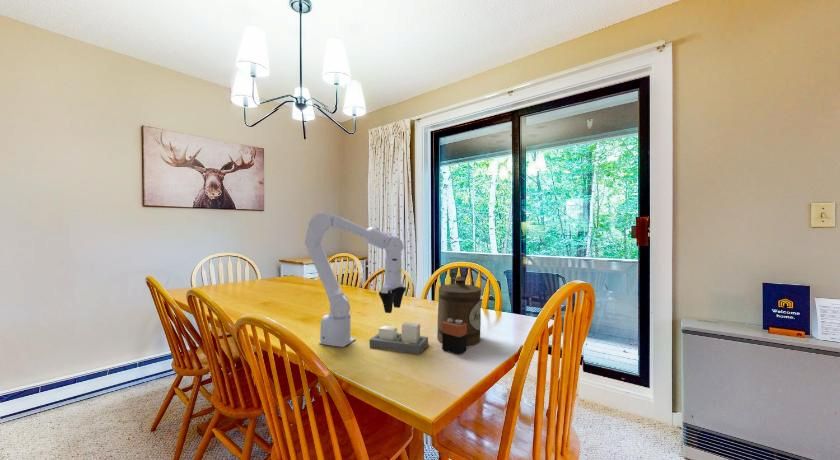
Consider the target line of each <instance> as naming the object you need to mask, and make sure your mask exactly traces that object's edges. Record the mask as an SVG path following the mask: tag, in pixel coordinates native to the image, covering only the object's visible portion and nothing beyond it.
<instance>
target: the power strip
mask: <svg viewBox="0 0 840 460" xmlns="http://www.w3.org/2000/svg"><path fill="white" fill-rule="evenodd" d="M427 346H429V337H428V336H425V335H424V336H423V335H420V342H419V343H418V344H415V343H408V342H402V333H400V332H398V326H392V325H382V326H381V327H379V328H378V333H376V335H374V336H372V337H371V338H370V339H369V348H373V349H381V350H385V351H386V350H388V351H393V352H394V351H395V352H400V353H401V352H402V353H408V354H415V355H420V354H421V353H422V352H423V351H424V350H425V348H426V347H427Z"/></svg>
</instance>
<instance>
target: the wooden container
mask: <svg viewBox="0 0 840 460" xmlns="http://www.w3.org/2000/svg"><path fill="white" fill-rule="evenodd" d="M454 282H455V283H449V284H441V285H440V286H439V287H438V301H437V302H438V304H437V331H436V332H437V333H436V334H437V336H436V337H437V341H439V343H441V344H442V327H443V322H444V321H447V320H448V318H452V320H462V322H464V323H466V324H467V347H473V346H476V345H478V344H479V343H480V342H481V322H482V321H481V319H482V317H481V312H482V311H481V306H482V305H481V304H482V303H481V300H482V299H481V298H482V297H481V296H482V288H481V287H479V286H478V285H473V284H466V283H465V278H464V277H463V276H459V275H458V276H456V277H455V278H454Z"/></svg>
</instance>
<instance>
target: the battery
mask: <svg viewBox="0 0 840 460" xmlns="http://www.w3.org/2000/svg"><path fill="white" fill-rule="evenodd" d="M441 349H442V350H443V351H445V352H448V353H451V354H454V355H458V356H459V355H462V354H464V353H466V352H467V324H466V323H464V322H462V320H452V318H448V320H447V321H444V322H443V327H442V343H441Z"/></svg>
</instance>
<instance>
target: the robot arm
mask: <svg viewBox="0 0 840 460" xmlns="http://www.w3.org/2000/svg"><path fill="white" fill-rule="evenodd" d="M307 224H308V225H307V230H306V235H305V239H304V244H305V247H306V249H307V251H308V254H309V256H310V258H311V261H312V263H313V265H314V267H315V270H316V272H317V274H318V277H319V279H320V281H321V283H322V286H323V288H324V290H325V293H326V296H327V299H328V301H329V305H330V307H329V311H330V313H328V314H325V315H323V316H322V318H321V321H320V327H319V329H320V332H319V333H320V339H319V340H320V341H319V342H318V343H319V344H320V345H326V346H333V347H340V348H344V347H346V346H347V345H349V344H351V343H353V342H355V340H356V337H351V330H352V329H351V324H352V323H351V318H352V317H351V314H352V313H350V311H351V305H350V303H349V302H350V300H349V297H348V296H347V295H346V294H344V293H343V290H342V288H341V286H340V285H339V283H338V279H337V277H336V275H335V273H334V271H333V269H332V266H331V263H330V262H329V259H328V257H327V255H326V252H325V250H324V247H323V246H322V240H323V238H324V236H325V234H326V233H327V231H329V230H330V228H331V226H332V230H335V229H337V230H338V229H340V230H341V229H342V230H344V231H347V232H350V233H352V234H355V235H357V236H360V237H362V238H363V240H364V242H365V243H366V244H368V245H371V246H373V247H376V248H378V249H381V250H385V258H384V283H383V285H382V286H381V287H380V288H381V290H380V291H379V292H378V296H379V297H380V299H381V302H382V306H383V310H384V313H386V314H391V313H392V311H393V308H396V309H400V308H401V305H402V300H403V297H404V294H405V292H406V291H407V287H406V286H405V283H404V280H402V252H403V250H404V244H403V242H402V241H403V240H402V239H400V238H399V237H397V236H394V235H392V233H390V232H385V231H383V230H380V227H378V226H375V227H373V226H370V227H368V228H366V227H365V226H364V227H363V226H362V225H360V224H357V223H355V222H353V221H351V220H349V219H347V218H344V217H341V216H339V215H335V214H329V213H327V212H325V211H319V212H316V213H315V214H313V215H312V217H311V219H309V222H308V223H307Z"/></svg>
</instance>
